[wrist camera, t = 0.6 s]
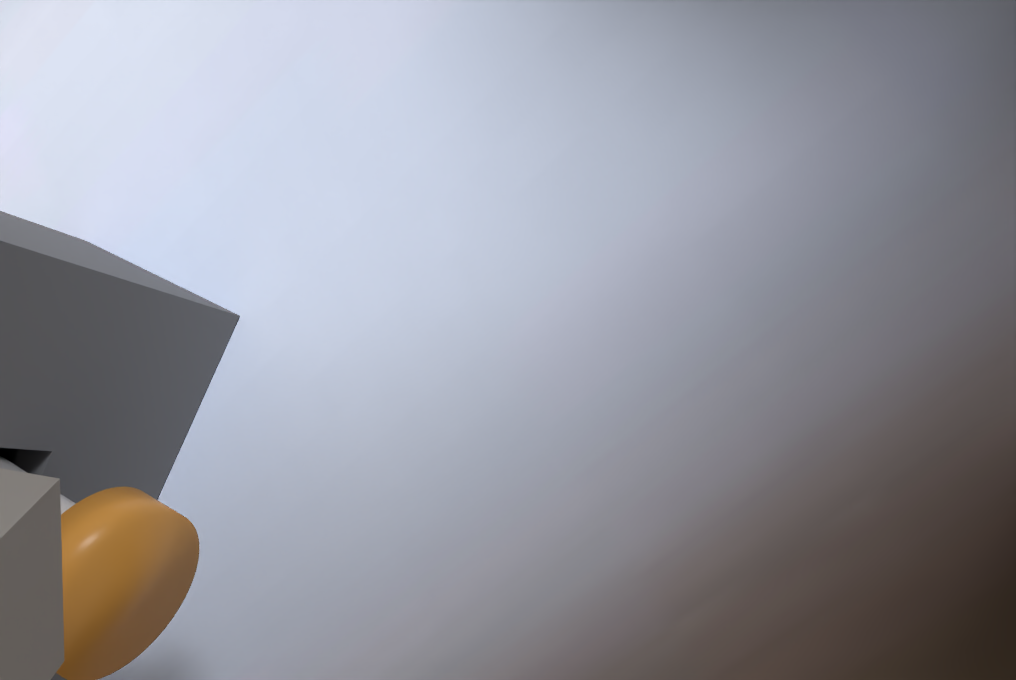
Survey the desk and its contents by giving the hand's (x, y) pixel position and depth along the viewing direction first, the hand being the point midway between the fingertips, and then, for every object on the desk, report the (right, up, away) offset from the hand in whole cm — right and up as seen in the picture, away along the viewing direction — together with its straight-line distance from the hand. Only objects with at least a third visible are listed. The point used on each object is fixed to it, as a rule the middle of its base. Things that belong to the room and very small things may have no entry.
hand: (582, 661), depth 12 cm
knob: (-16, -4, +24) cm, 29 cm away
